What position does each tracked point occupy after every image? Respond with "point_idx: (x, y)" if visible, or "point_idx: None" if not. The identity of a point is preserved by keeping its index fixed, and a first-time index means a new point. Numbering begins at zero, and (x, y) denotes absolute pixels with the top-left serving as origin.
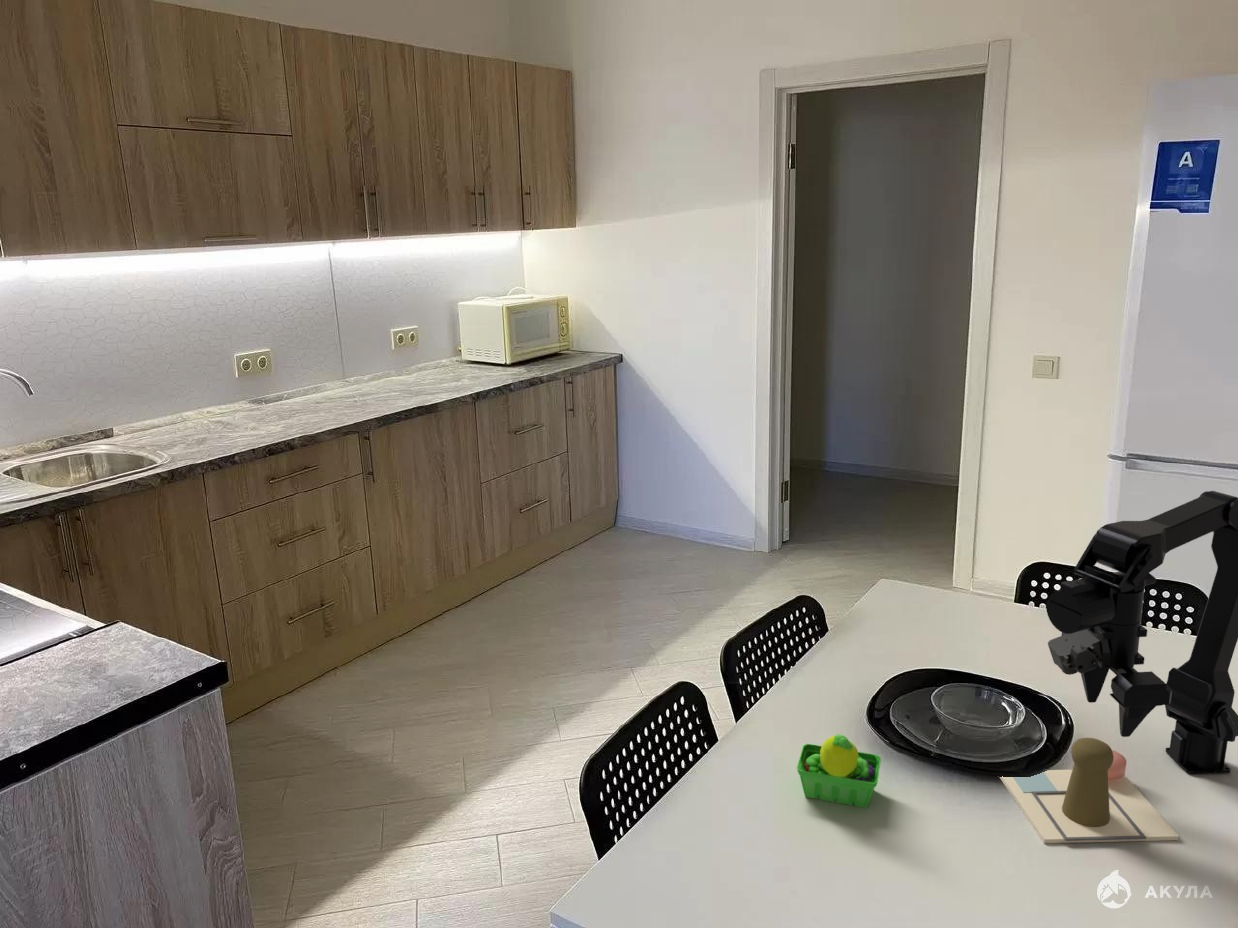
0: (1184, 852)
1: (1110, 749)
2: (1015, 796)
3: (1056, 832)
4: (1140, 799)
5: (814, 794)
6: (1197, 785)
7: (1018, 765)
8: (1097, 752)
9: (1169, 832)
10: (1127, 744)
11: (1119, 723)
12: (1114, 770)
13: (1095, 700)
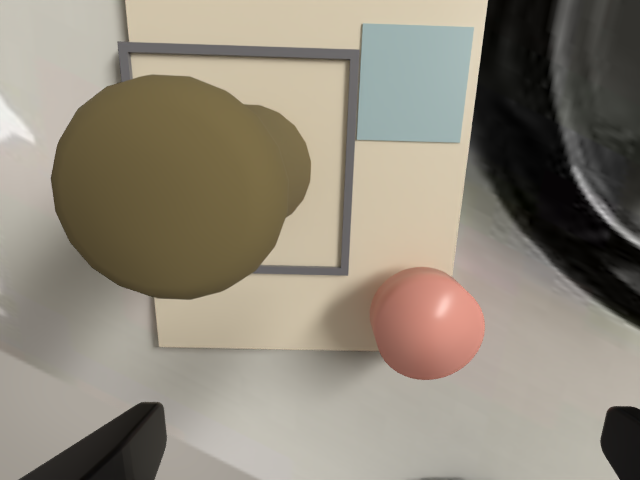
0: (118, 330)
1: (123, 284)
2: None
3: (160, 36)
4: (306, 336)
5: None
6: (363, 476)
7: (518, 92)
8: (60, 183)
9: (172, 333)
10: (546, 422)
11: (91, 465)
12: (374, 322)
13: (609, 455)
